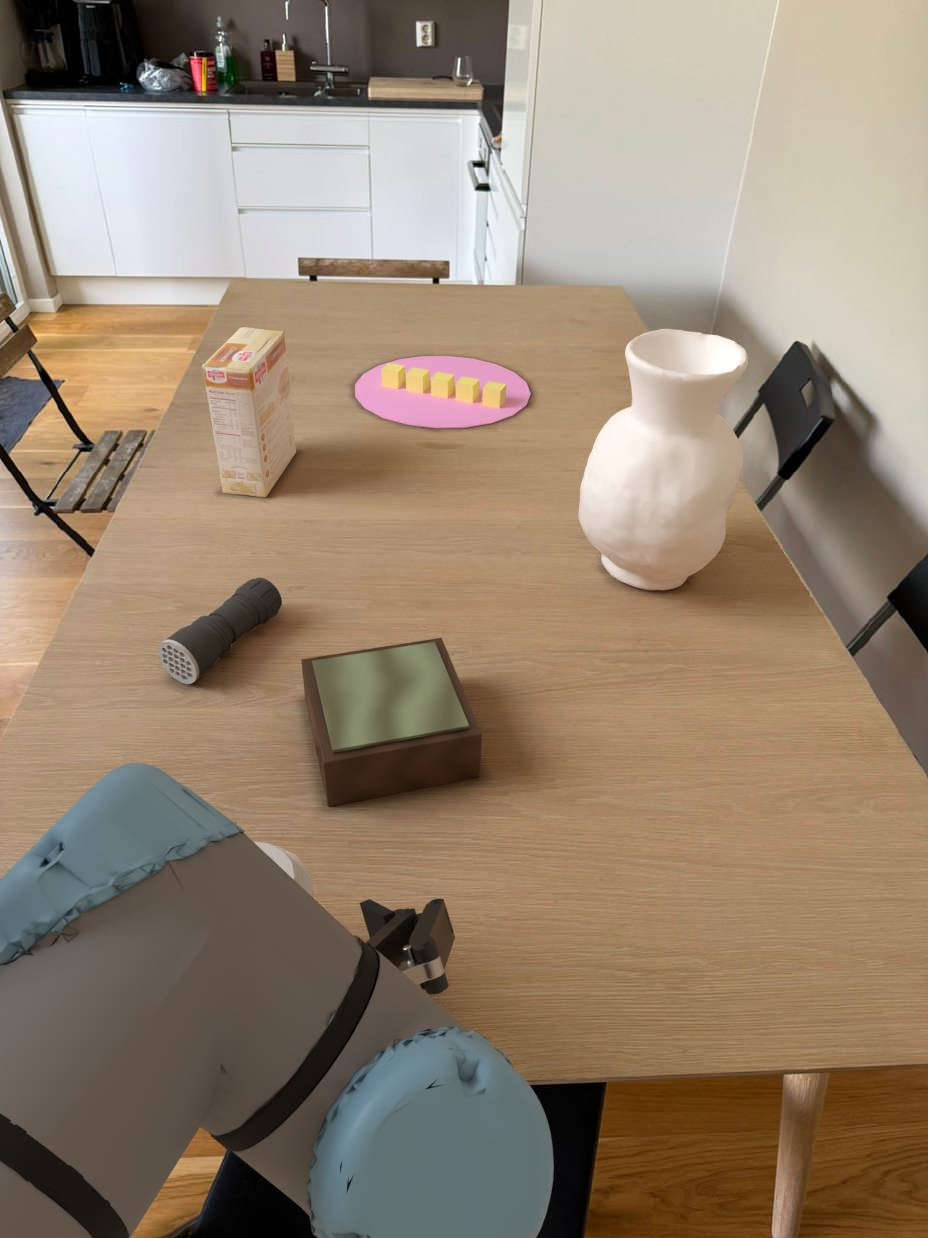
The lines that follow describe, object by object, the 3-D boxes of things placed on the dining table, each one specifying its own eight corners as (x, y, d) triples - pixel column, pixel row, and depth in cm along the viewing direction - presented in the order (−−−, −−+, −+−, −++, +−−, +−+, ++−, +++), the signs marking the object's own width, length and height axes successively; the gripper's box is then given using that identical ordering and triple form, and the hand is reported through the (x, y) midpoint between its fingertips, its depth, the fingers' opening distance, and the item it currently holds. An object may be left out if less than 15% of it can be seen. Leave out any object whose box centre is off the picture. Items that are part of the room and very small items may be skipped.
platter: (496, 442, 145) (497, 423, 143) (322, 407, 154) (320, 389, 152) (552, 373, 169) (554, 356, 167) (399, 346, 178) (398, 329, 176)
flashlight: (252, 603, 109) (247, 566, 106) (288, 617, 107) (284, 580, 104) (162, 673, 98) (153, 635, 95) (199, 690, 96) (192, 652, 93)
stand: (327, 807, 84) (323, 760, 80) (305, 701, 95) (300, 656, 91) (479, 777, 88) (482, 731, 84) (440, 679, 99) (441, 634, 95)
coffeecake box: (255, 447, 141) (239, 325, 130) (298, 452, 141) (286, 329, 129) (219, 493, 130) (199, 364, 118) (266, 498, 129) (251, 369, 117)
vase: (556, 600, 111) (583, 370, 93) (590, 517, 127) (619, 307, 109) (707, 632, 107) (766, 397, 89) (722, 542, 123) (775, 327, 105)
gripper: (70, 1278, 35) (95, 1098, 55) (601, 1012, 44) (458, 940, 64) (19, 1089, 35) (62, 979, 55) (555, 865, 45) (428, 839, 64)
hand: (275, 958), depth 59 cm, fingers open, 13 cm apart
